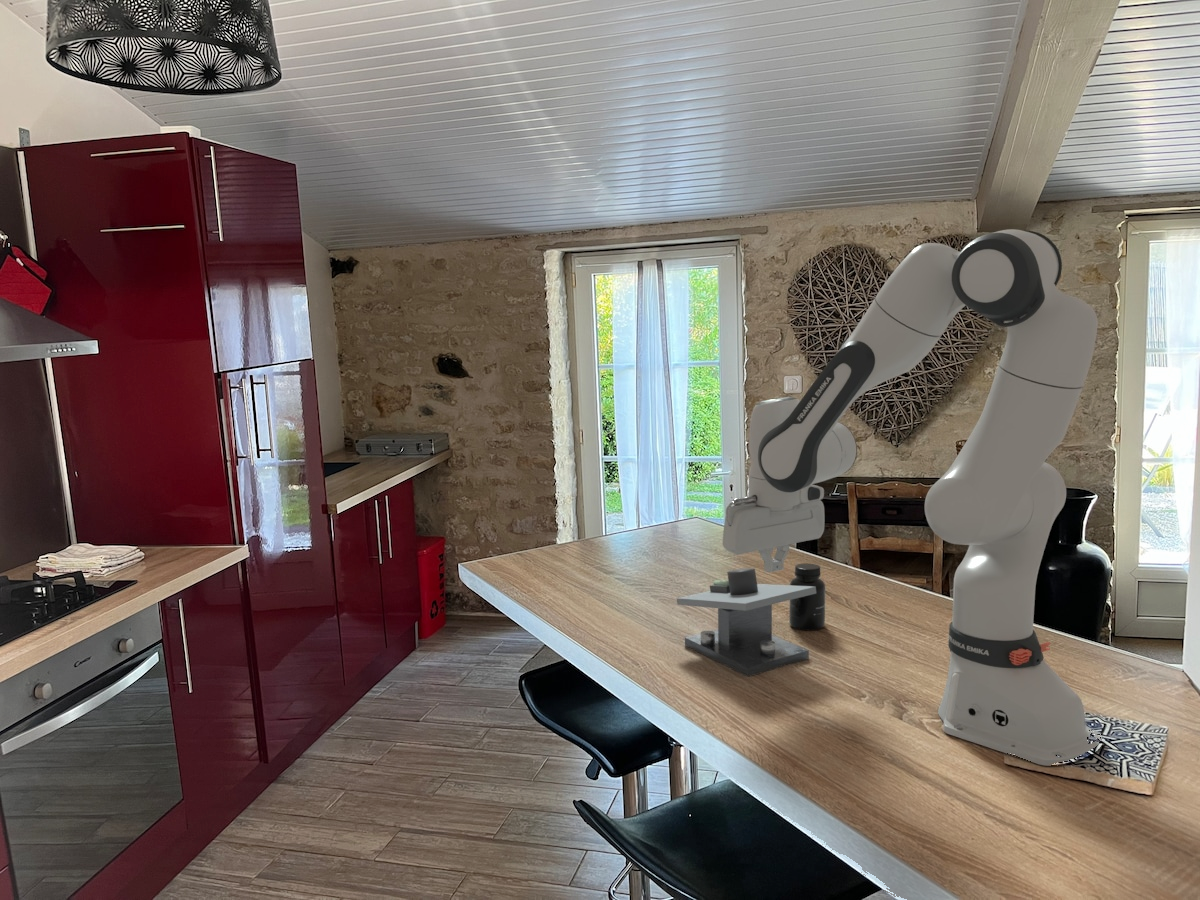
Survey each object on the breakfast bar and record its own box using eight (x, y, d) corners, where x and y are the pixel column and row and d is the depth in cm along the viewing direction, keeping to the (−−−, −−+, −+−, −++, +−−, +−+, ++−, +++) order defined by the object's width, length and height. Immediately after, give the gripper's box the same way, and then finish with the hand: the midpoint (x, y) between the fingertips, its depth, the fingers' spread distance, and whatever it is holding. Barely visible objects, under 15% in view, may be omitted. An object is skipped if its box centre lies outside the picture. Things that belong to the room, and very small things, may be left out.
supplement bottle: (825, 632, 179) (826, 571, 177) (789, 630, 180) (789, 570, 178) (824, 620, 185) (824, 561, 183) (789, 619, 187) (789, 561, 185)
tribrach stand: (808, 658, 165) (809, 610, 164) (747, 676, 158) (747, 625, 157) (743, 630, 181) (742, 585, 179) (684, 645, 174) (684, 599, 172)
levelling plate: (817, 596, 163) (812, 563, 164) (746, 614, 155) (741, 579, 155) (744, 592, 181) (740, 562, 181) (677, 607, 173) (673, 576, 173)
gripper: (739, 503, 150) (738, 585, 152) (831, 488, 161) (829, 565, 163) (714, 496, 155) (714, 576, 158) (805, 482, 166) (804, 557, 168)
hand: (773, 570), depth 160 cm, fingers closed
